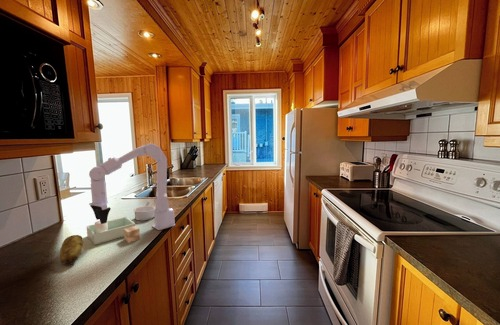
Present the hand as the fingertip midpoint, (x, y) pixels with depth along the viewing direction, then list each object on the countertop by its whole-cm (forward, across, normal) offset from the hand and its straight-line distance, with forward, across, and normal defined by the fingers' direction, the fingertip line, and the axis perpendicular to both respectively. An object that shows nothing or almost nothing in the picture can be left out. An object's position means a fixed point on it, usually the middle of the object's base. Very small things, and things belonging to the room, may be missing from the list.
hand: (101, 221), depth 105 cm
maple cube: (+8, +12, +9) cm, 17 cm away
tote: (+8, 0, +4) cm, 9 cm away
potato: (+8, +13, -14) cm, 20 cm away
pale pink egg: (+7, 0, 0) cm, 7 cm away
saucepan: (+8, -15, +27) cm, 32 cm away
